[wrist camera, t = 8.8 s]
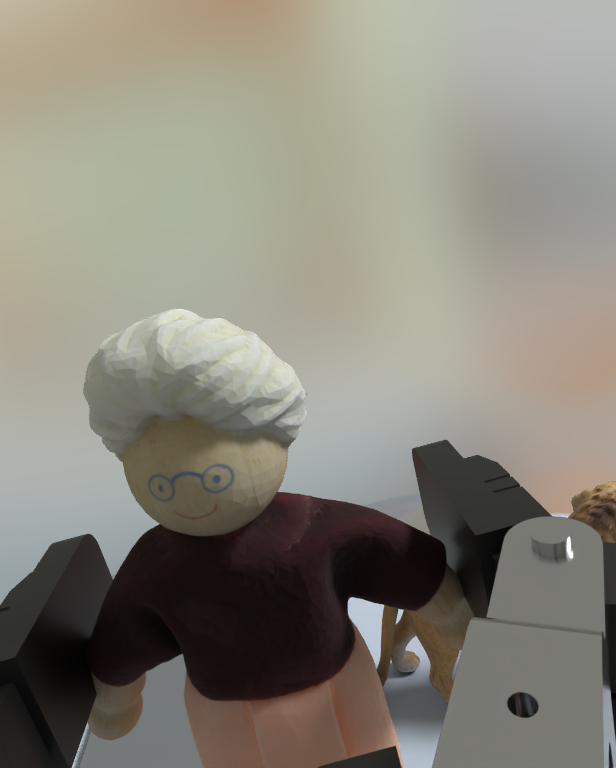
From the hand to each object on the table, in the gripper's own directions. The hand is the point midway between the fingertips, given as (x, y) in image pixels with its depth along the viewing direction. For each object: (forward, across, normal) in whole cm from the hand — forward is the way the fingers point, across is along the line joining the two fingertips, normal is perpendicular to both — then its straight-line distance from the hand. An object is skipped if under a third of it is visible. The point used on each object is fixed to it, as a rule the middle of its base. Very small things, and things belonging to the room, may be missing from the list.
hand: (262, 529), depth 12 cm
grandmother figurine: (-2, 0, +8) cm, 8 cm away
